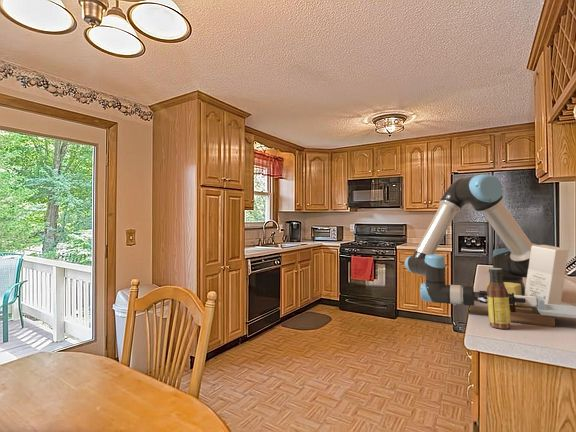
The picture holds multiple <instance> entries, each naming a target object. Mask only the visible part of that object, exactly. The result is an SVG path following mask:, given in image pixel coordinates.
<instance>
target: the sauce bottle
mask: <svg viewBox="0 0 576 432" xmlns="http://www.w3.org/2000/svg"><path fill="white" fill-rule="evenodd" d="M488 273H489V283H490V284H489V285H488V287H487V286H486V287H487V300H488V304H487V310H488V311H487V313H488V321H489V326H490V327H492V328H495V329H499V330H508V329H510V328H511V324H512V323H511V321H510V308H509V296H508V292H507V290H506V288H505V285H504V283H503V277H502V273H503V270H502V269H501V268H493V267H490V268H489V269H488Z"/></svg>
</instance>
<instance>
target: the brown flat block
mask: <svg viewBox="0 0 576 432" xmlns="http://www.w3.org/2000/svg"><path fill="white" fill-rule="evenodd" d="M509 308H510V321H511V323H510V324H519V323H520V324H522V325H530V326H539V327H540V326H541V327H549V328H556V320H555V317H556V316H547V315H541V314H540V313H539V311H538V310H537V308H536V307H535V306H524V305H523V304H522V305H512V304H509ZM520 324H519V325H520Z"/></svg>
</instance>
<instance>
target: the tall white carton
mask: <svg viewBox="0 0 576 432" xmlns="http://www.w3.org/2000/svg"><path fill="white" fill-rule="evenodd" d="M568 257H569V249H568V248H566V247H565V248H563V247H558V246H554V245H548V244H537V245H533V246H531V253H530V260H529V267H528V274H527V278H526V282H525V295H524V296H533V297H535V296H541V298H542V299H543V300H544V304H557V305H562V296H563V289H564V283H565V279H566V277H565V276H566V270H567V263H568ZM522 305H524V306H535V305H530V304H522Z"/></svg>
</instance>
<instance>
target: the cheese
mask: <svg viewBox="0 0 576 432" xmlns="http://www.w3.org/2000/svg"><path fill="white" fill-rule="evenodd" d="M503 283H504V285H505V288H506V290H507V292H508V294H511V295H512V293H514V295H519V296H522V293H521V284H517V283H510V282H503ZM489 284H490V282H488V283H486V287H485V289H486V290H485V291H487V287H488V285H489ZM512 305H513V304H512ZM515 305H523V304H518V303H515Z"/></svg>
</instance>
